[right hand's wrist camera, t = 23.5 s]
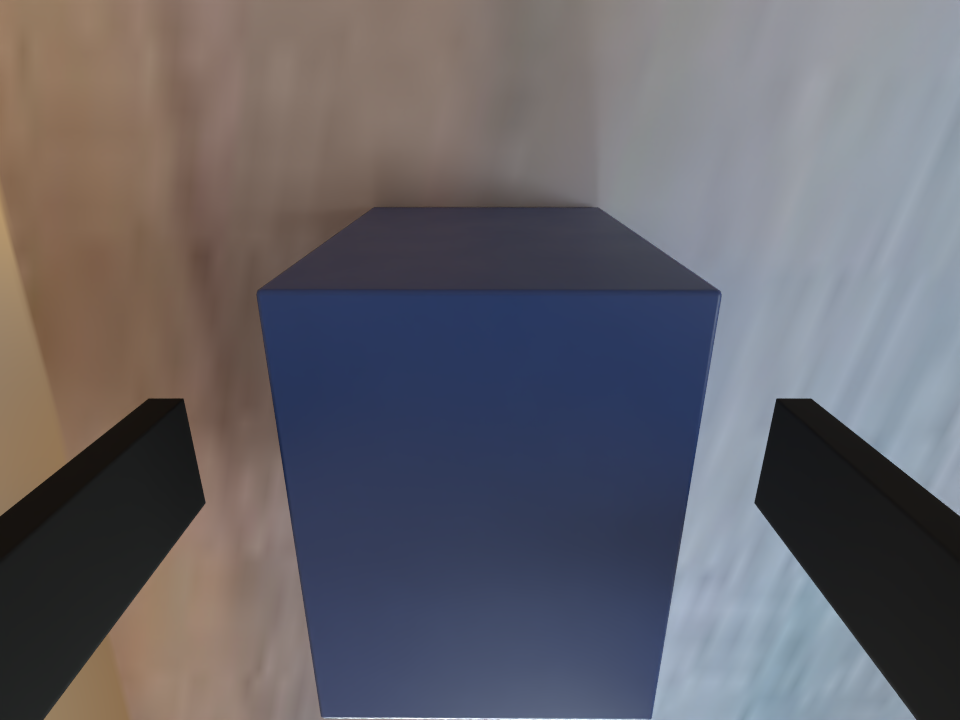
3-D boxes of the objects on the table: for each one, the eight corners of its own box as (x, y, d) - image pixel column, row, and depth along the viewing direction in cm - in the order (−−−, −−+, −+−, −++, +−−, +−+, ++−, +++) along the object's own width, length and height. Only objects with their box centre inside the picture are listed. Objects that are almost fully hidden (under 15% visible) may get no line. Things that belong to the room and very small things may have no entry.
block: (371, 207, 16) (253, 289, 8) (600, 207, 16) (725, 291, 8) (390, 466, 20) (319, 720, 11) (580, 467, 20) (652, 722, 11)
